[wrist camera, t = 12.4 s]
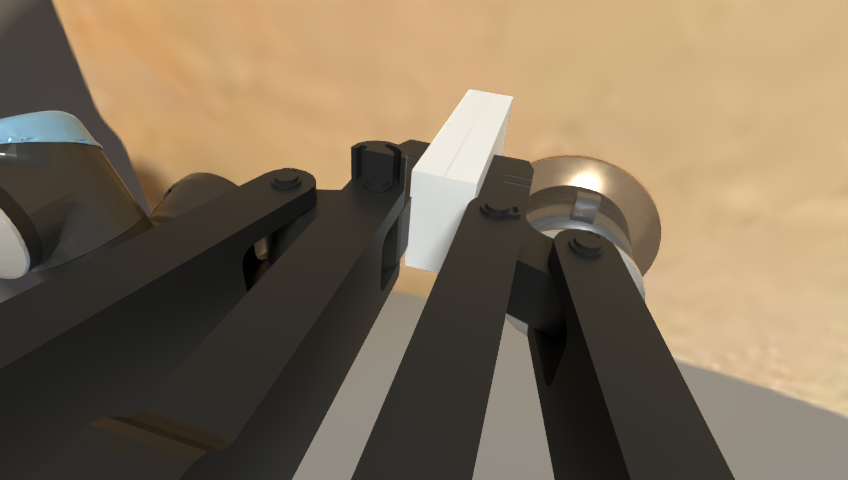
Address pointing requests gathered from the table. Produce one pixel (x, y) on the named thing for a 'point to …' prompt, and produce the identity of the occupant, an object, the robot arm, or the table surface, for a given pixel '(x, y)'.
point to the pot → (595, 204)
